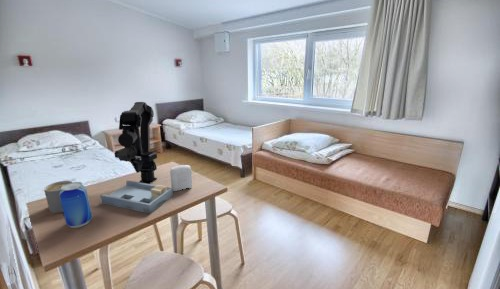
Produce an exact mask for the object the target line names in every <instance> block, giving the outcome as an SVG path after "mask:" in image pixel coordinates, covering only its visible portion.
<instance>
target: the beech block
mask: <svg viewBox="0 0 500 289" xmlns="http://www.w3.org/2000/svg"><path fill="white" fill-rule="evenodd" d="M156 185H157V186H155V187H154V188H152V189H151V196H152V198H157V197H159V196H160V195H162V194H163V193H164V192H166V191H167V187H168V185H162V184H156Z"/></svg>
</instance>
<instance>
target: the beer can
mask: <svg viewBox="0 0 500 289" xmlns="http://www.w3.org/2000/svg"><path fill="white" fill-rule="evenodd" d="M71 182H72V183H68V184H66V185H64V186H62V187H61V191H60V194H59V195H60V200H61V204H62V208H63V212H62V213H63V215H64V220H65V224H66V226H68V227H69V228H71V229H78V228H81V227H84V226H86V225H88V224H89V223H90V222H91V220H92V218H93V215H92V210H91V205H90V200H89V195H88V191H87V188H86V186H84V185H83V183H82V182H81V181H71Z"/></svg>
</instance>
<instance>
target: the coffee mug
mask: <svg viewBox="0 0 500 289" xmlns="http://www.w3.org/2000/svg"><path fill="white" fill-rule="evenodd" d="M72 182H73V181H72V180H62V181H61V180H60V181H55V182H52V183H50V184H48V185H46V186H44V188H43V191H44V196H45V198H46V202H47V207H48V210H49V212H51V213H54V214H55V213H56V214H58V213H64V212H63V208H62V204H61V200H60V195H59V194H60V191H61V187H62V186H64V185H66V184H68V183H72Z"/></svg>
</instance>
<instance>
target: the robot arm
mask: <svg viewBox="0 0 500 289" xmlns="http://www.w3.org/2000/svg"><path fill="white" fill-rule="evenodd" d="M154 116H155V112H154V110H153V107H152V106H150V105H148V104H147V103H146V102H145V101H135V102H134V104H133V106H132V107H130V109H129V110H124V111H122V112H121V114H120V115H119V123H118V124H119V126H118V130H119V131H120V130H121V132H122V133H121V134H119V136H118V138H117V141H118V143H119V145H120V146H122V147H124V148H121V149H120V148H119V149H118V150H115V152H114V159H115V158H116V159H119V161H120V162H122V161H123V162H129V163H130V164H131V166H132V167H133V168H134V171H135V172H136V173H140V180H139V183H145V184H151V183H153V182H154V181H156V180H157V179H158V177H155V171H157V169H158V168H157V167H158V166H157V164H156V161H155V160H156V159H157V158H158V153H157V152H156V151H151V147H150V146H151V145H150V144H151V141H150V134H151V133H150V132H151V131H150V130H151V129H150V126H151V124H152V122H154V121H153V120H154V119H153V118H154Z"/></svg>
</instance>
